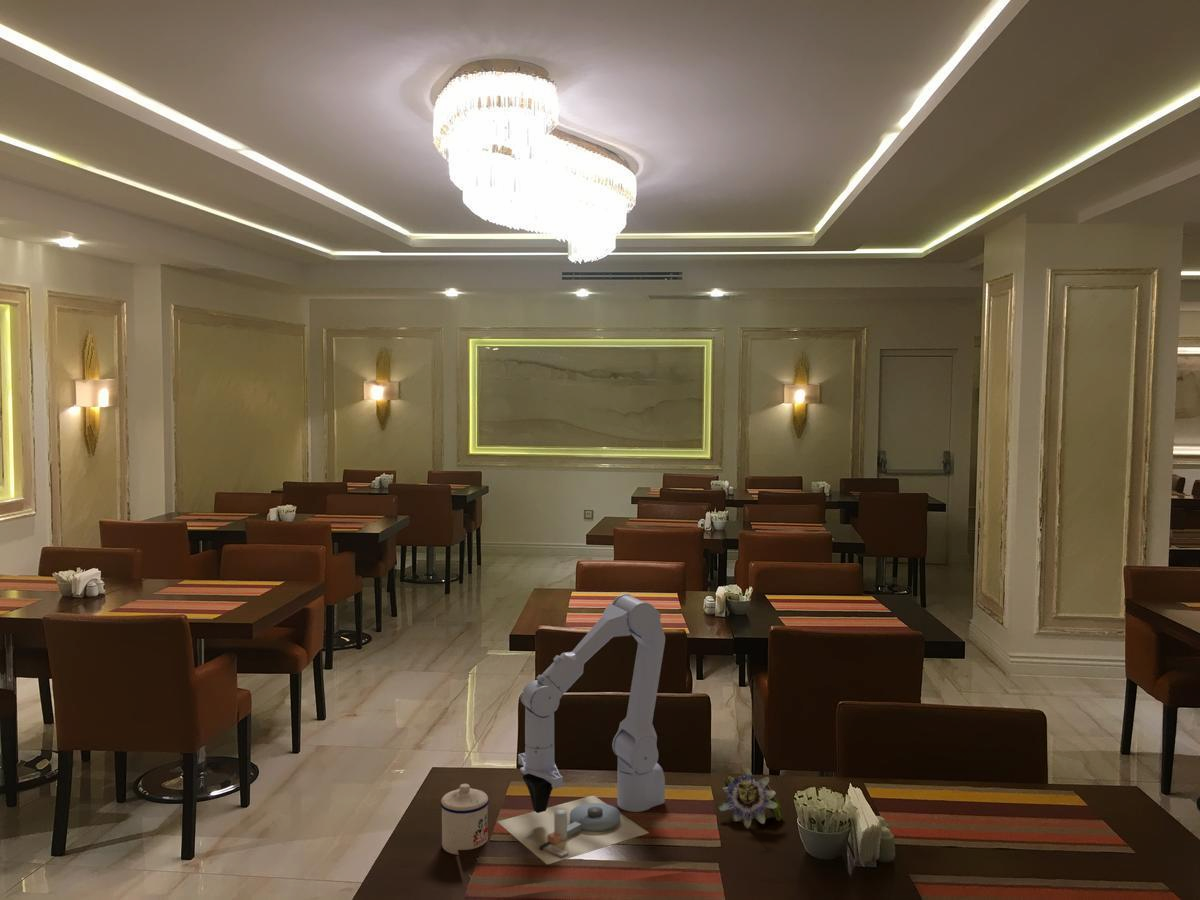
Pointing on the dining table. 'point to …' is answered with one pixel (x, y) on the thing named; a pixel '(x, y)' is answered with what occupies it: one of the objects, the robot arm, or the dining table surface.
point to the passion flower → (749, 799)
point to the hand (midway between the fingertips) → (540, 810)
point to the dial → (584, 820)
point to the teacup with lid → (464, 819)
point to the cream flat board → (539, 825)
